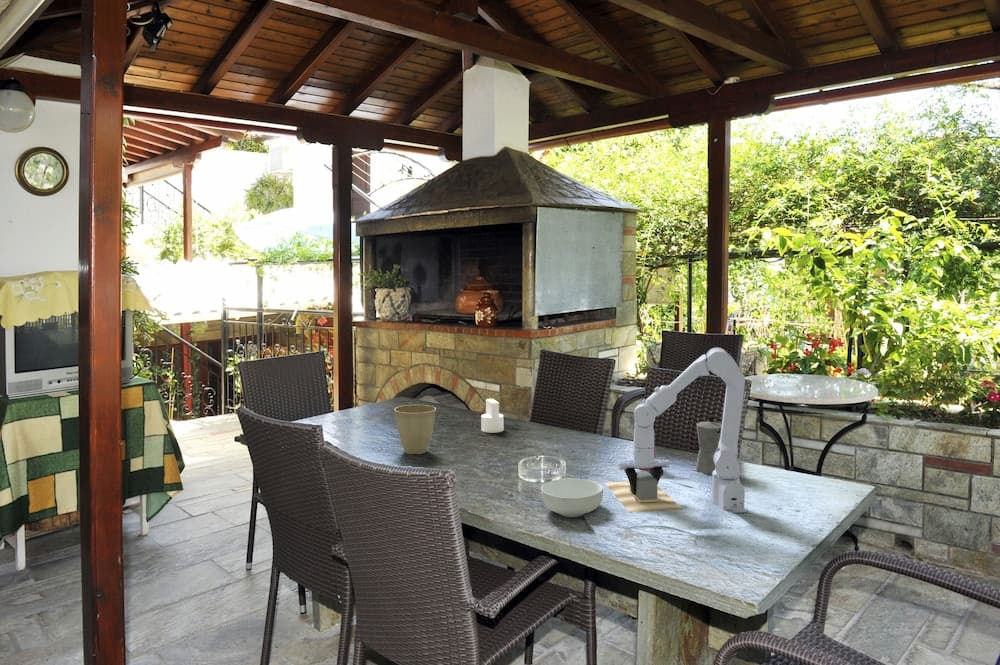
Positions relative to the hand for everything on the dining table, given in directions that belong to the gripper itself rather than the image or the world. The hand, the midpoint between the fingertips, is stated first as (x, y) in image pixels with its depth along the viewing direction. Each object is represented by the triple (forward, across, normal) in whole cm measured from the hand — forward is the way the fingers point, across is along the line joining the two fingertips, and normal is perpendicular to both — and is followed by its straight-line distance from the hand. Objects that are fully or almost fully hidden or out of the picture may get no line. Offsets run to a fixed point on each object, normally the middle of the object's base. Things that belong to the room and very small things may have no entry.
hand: (643, 493), depth 203 cm
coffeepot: (+3, -31, -24) cm, 40 cm away
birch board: (+2, 0, -1) cm, 3 cm away
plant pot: (+3, +64, -63) cm, 89 cm away
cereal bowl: (+3, +22, +6) cm, 23 cm away
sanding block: (+1, 0, 0) cm, 1 cm away
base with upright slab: (+3, +33, -92) cm, 97 cm away
